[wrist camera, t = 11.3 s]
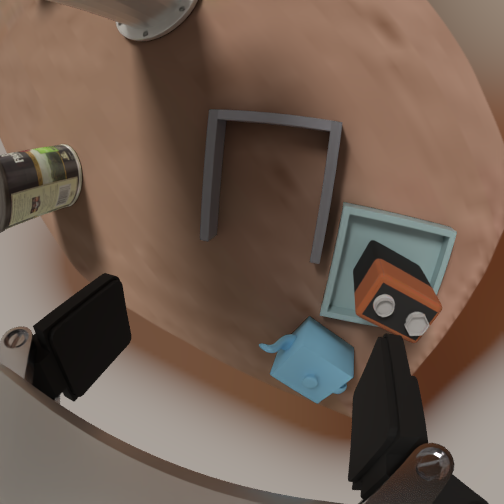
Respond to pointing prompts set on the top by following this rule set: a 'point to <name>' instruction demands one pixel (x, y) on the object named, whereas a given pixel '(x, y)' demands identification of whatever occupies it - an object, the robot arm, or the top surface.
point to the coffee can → (37, 183)
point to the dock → (216, 158)
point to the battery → (393, 293)
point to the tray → (390, 235)
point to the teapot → (312, 361)
